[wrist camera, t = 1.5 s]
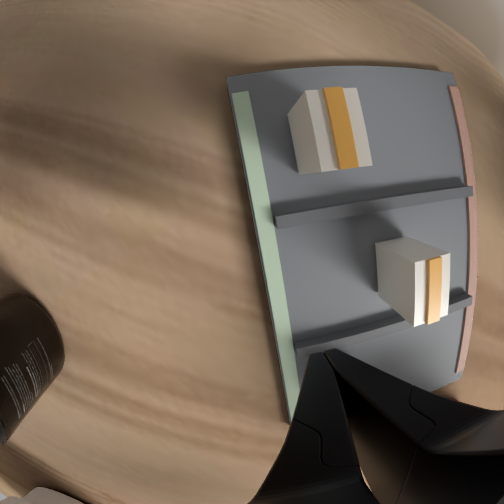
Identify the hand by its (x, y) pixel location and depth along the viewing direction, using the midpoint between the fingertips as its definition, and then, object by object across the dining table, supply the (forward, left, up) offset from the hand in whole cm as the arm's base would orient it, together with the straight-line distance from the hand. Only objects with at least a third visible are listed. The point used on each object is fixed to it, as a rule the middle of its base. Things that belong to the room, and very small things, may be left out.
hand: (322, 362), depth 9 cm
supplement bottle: (+18, +1, -8) cm, 20 cm away
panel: (-6, 0, -8) cm, 10 cm away
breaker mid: (-6, 0, -7) cm, 9 cm away
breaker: (-2, -7, -7) cm, 10 cm away
